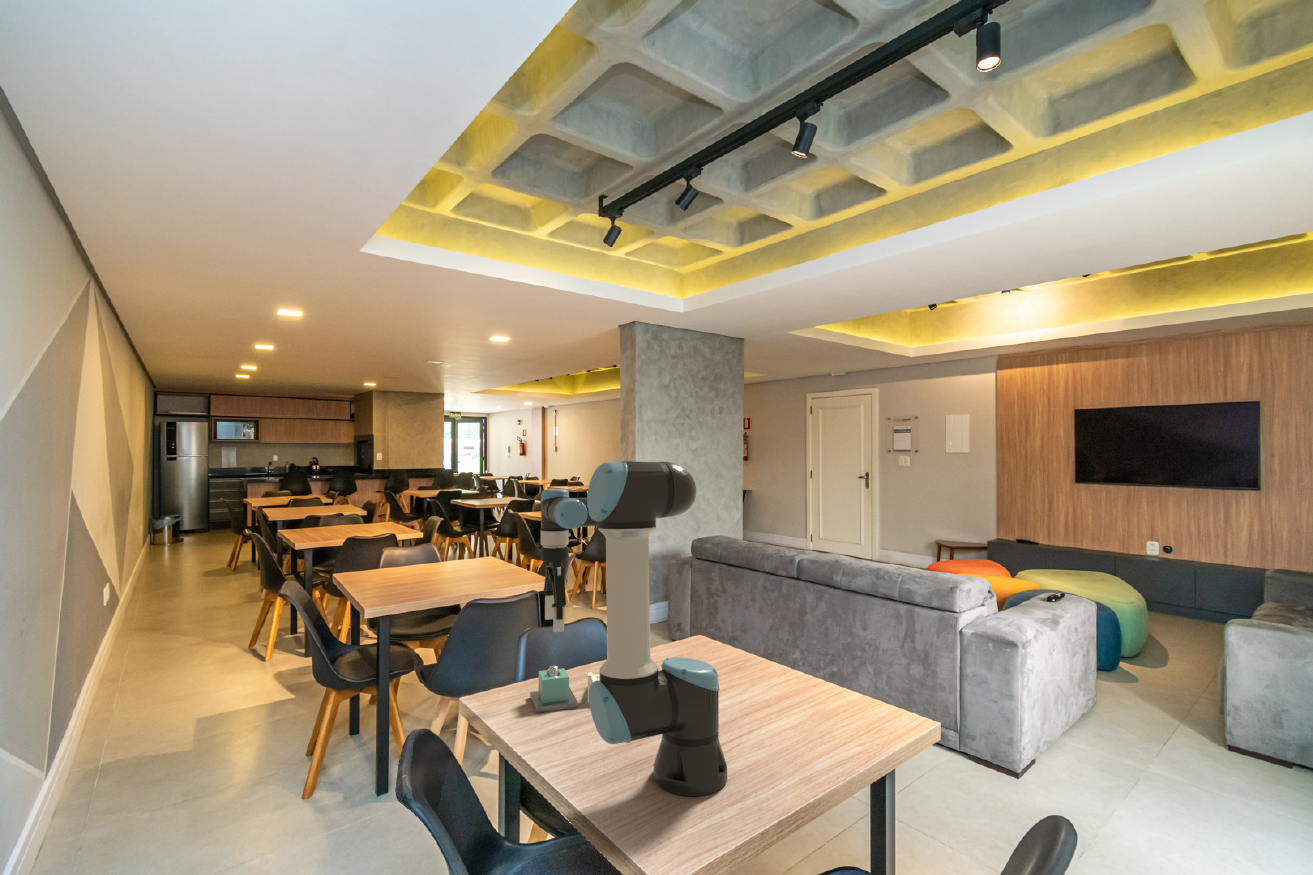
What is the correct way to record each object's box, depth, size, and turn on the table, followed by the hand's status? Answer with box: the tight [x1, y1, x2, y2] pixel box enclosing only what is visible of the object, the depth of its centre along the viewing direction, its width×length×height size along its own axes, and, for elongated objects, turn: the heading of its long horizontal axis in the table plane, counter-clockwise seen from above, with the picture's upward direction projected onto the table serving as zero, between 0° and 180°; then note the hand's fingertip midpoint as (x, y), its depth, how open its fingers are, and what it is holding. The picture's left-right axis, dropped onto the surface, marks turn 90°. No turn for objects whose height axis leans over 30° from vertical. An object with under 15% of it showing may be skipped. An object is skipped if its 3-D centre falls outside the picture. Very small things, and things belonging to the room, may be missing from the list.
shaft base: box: [529, 664, 579, 714], centre depth 163 cm, size 11×11×10 cm
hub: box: [538, 668, 570, 703], centre depth 163 cm, size 7×7×7 cm
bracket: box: [587, 671, 600, 704], centre depth 169 cm, size 13×7×8 cm, turn 179°
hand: (554, 625), depth 164 cm, fingers open, 13 cm apart
